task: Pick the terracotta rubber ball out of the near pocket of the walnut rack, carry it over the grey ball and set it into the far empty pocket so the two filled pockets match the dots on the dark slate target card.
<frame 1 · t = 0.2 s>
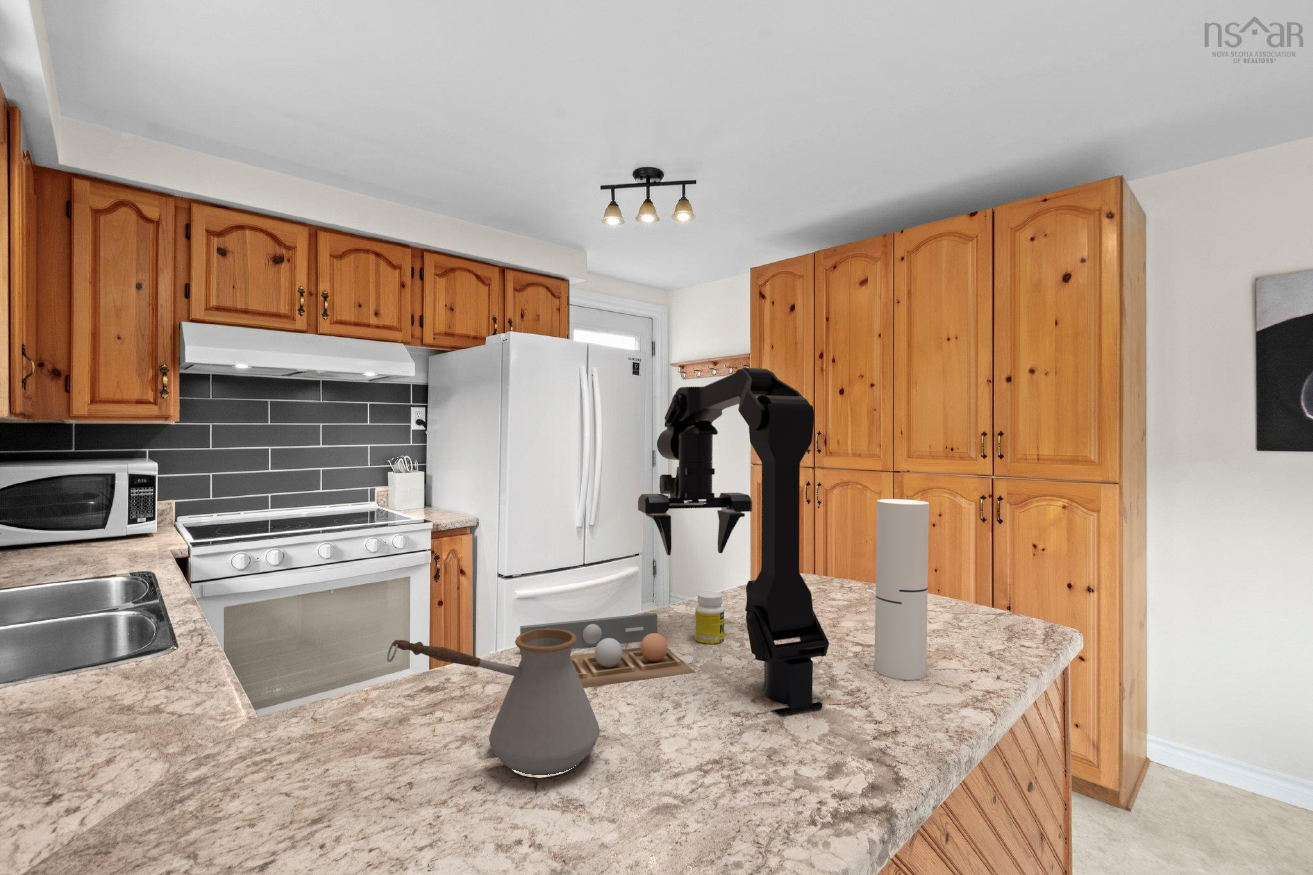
hand: (694, 553, 106), 14 cm above the countertop, tool pointing down, fingers open, 9 cm apart
cylindrical container: (899, 671, 93), on the countertop
supplement bottle: (709, 646, 102), on the countertop
terracotta ball: (654, 660, 93), point 1 cm above the countertop, touching rack
grey ball: (608, 666, 90), point 1 cm above the countertop, touching rack
coffee pot: (498, 773, 64), on the countertop
hamburger: (777, 628, 113), on the countertop
target card: (590, 651, 99), on the countertop
rack: (608, 673, 90), on the countertop
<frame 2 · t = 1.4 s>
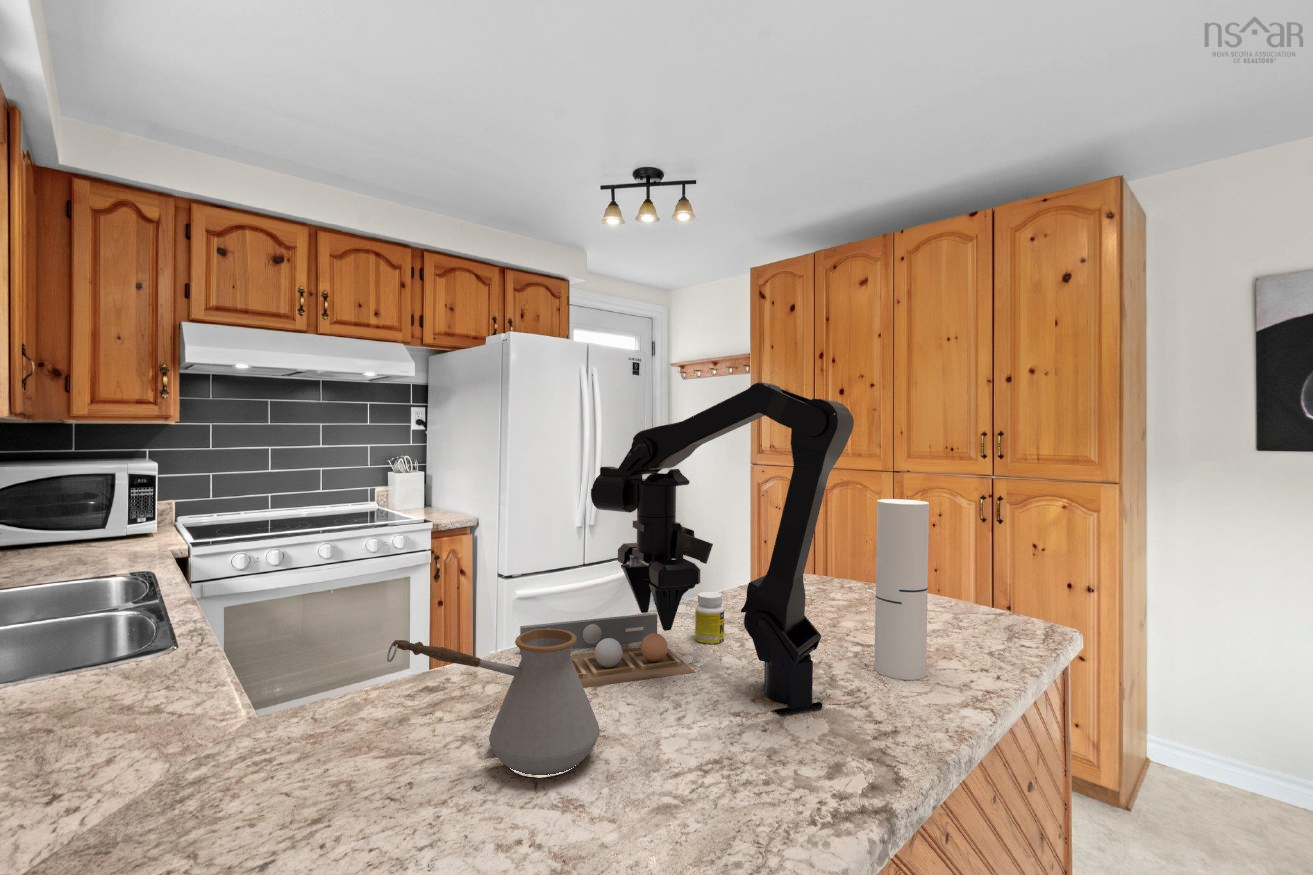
hand: (655, 620, 92), 7 cm above the countertop, tool pointing down, fingers open, 9 cm apart
nothing on the countertop moved.
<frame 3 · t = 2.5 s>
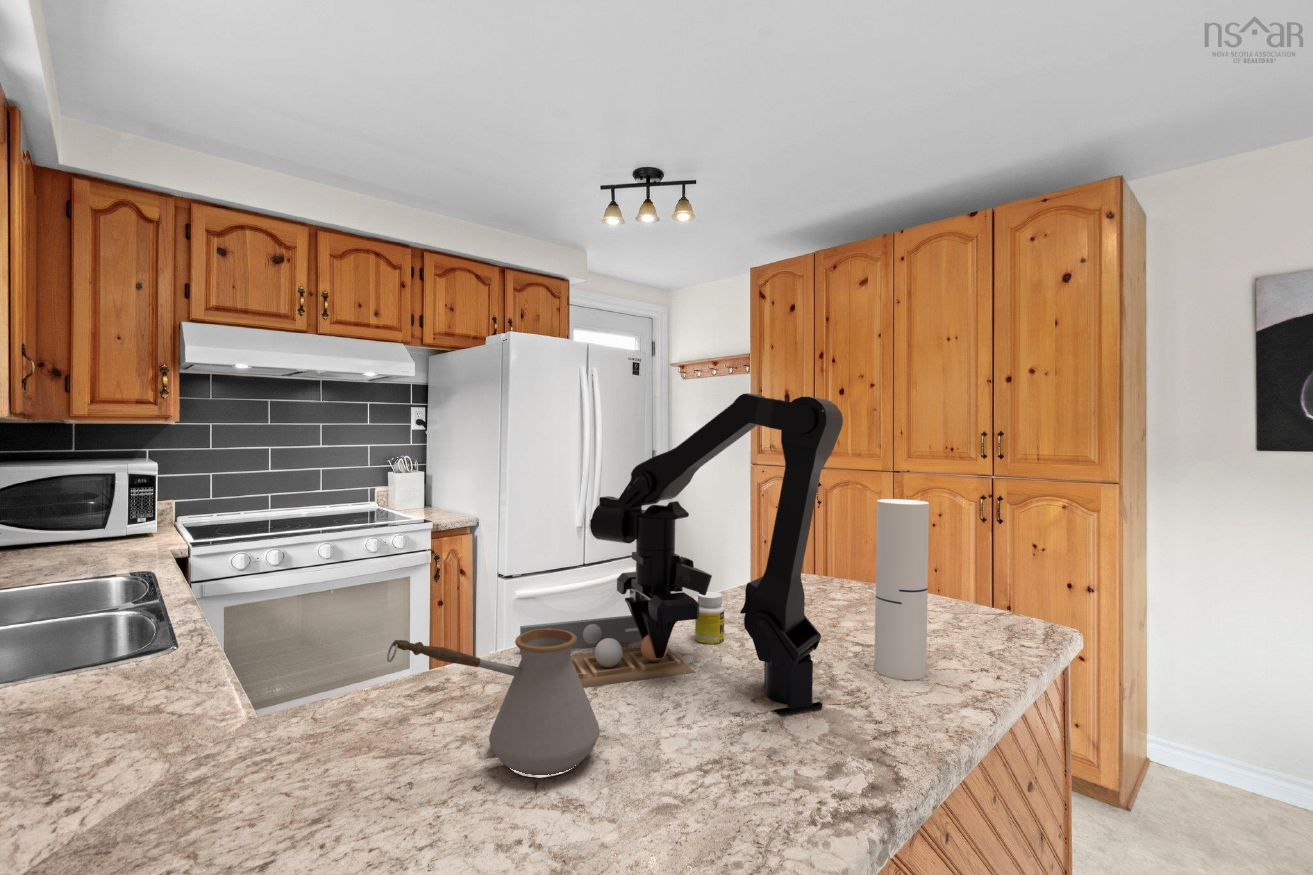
hand: (654, 652, 93), 2 cm above the countertop, tool pointing down, fingers closed on terracotta ball, 4 cm apart
terracotta ball: (654, 660, 93), point 1 cm above the countertop, touching gripper, rack
everything else where it was.
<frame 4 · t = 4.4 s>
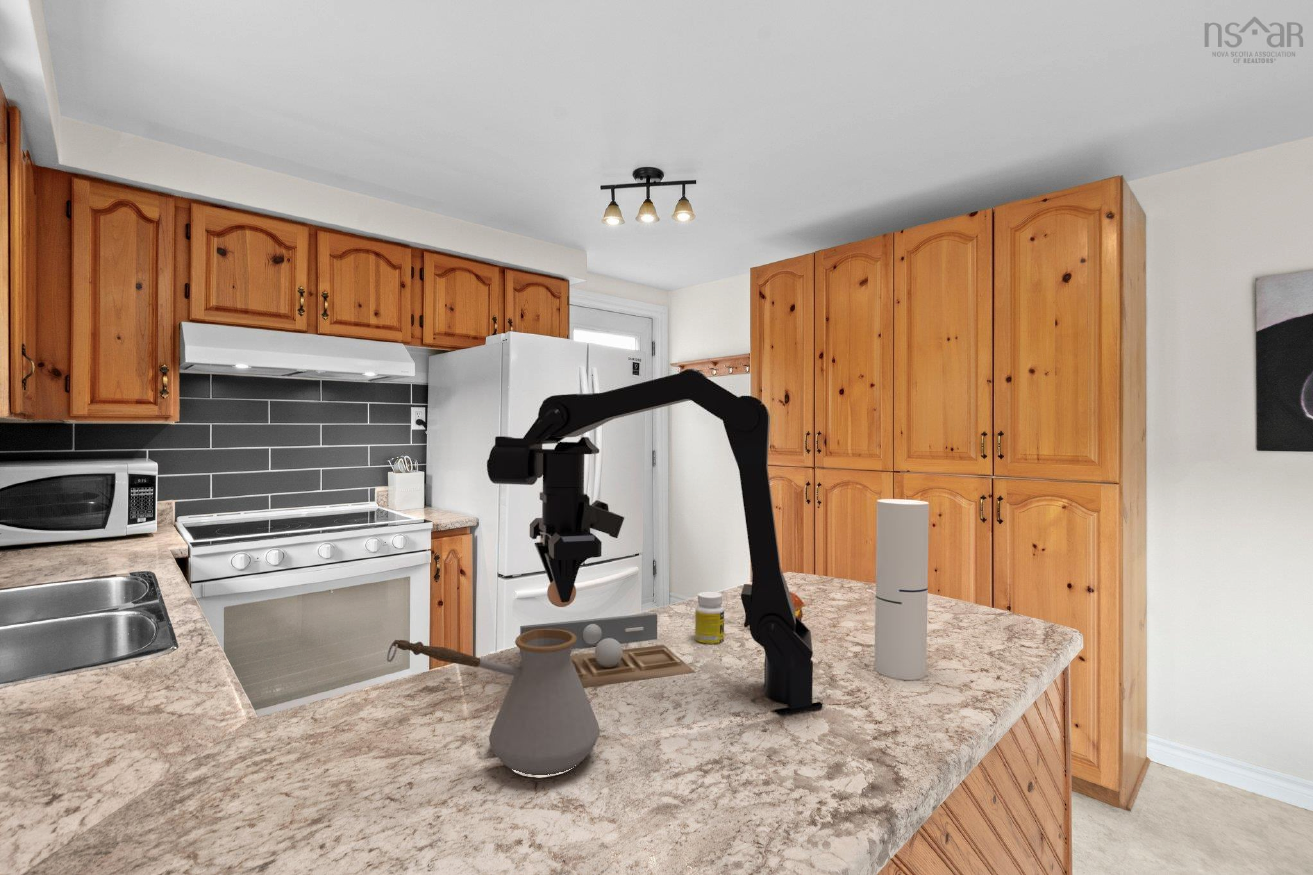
hand: (561, 598, 87), 11 cm above the countertop, tool pointing down, fingers closed on terracotta ball, 4 cm apart
terracotta ball: (561, 606, 87), point 10 cm above the countertop, touching gripper
everything else where it was.
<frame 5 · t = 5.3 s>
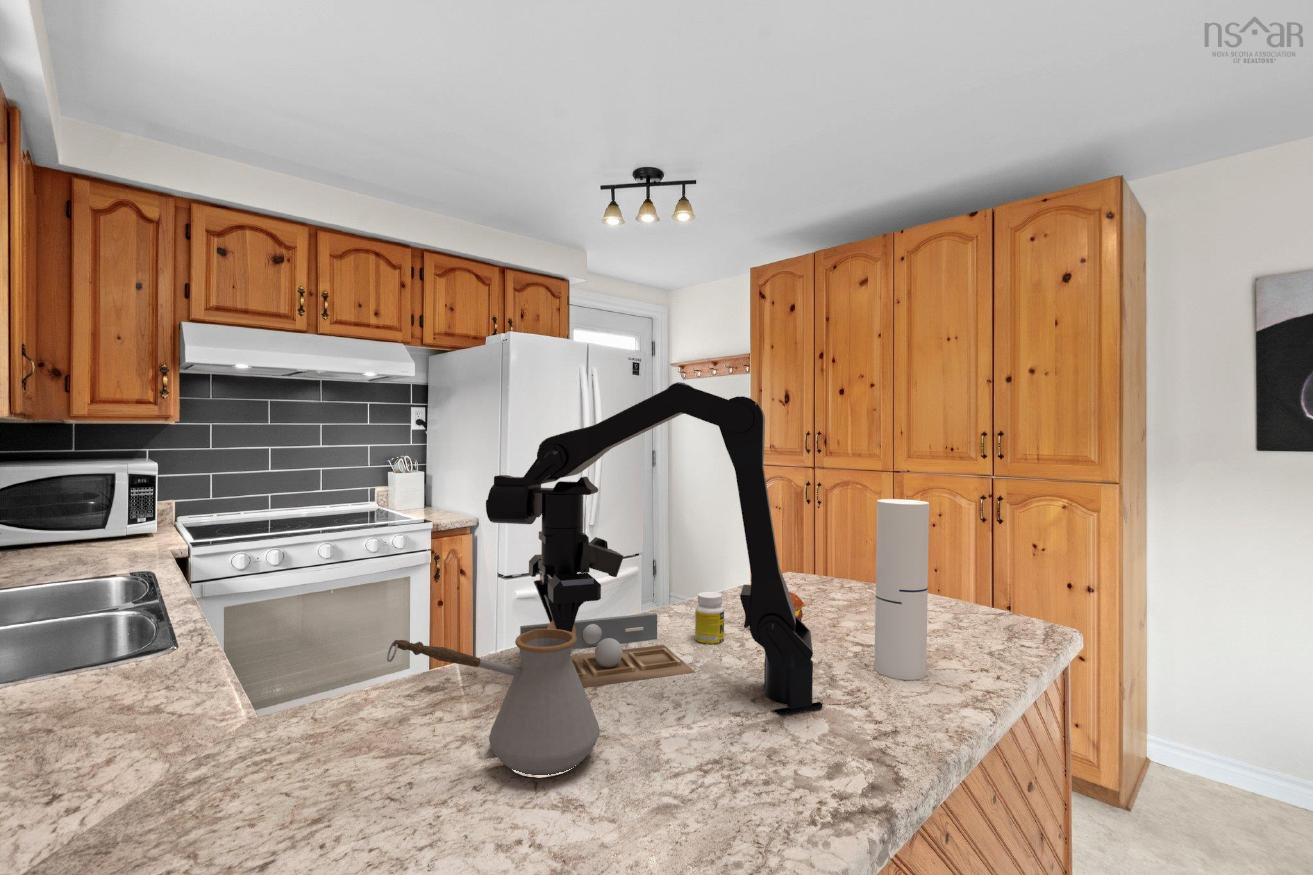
hand: (561, 637, 87), 6 cm above the countertop, tool pointing down, fingers closed on terracotta ball, 4 cm apart
terracotta ball: (561, 646, 87), point 5 cm above the countertop, touching gripper
everything else where it was.
when the fingers open (4 cm above the countertop, at t = 6.1 s): terracotta ball drops 1 cm, resting on rack.
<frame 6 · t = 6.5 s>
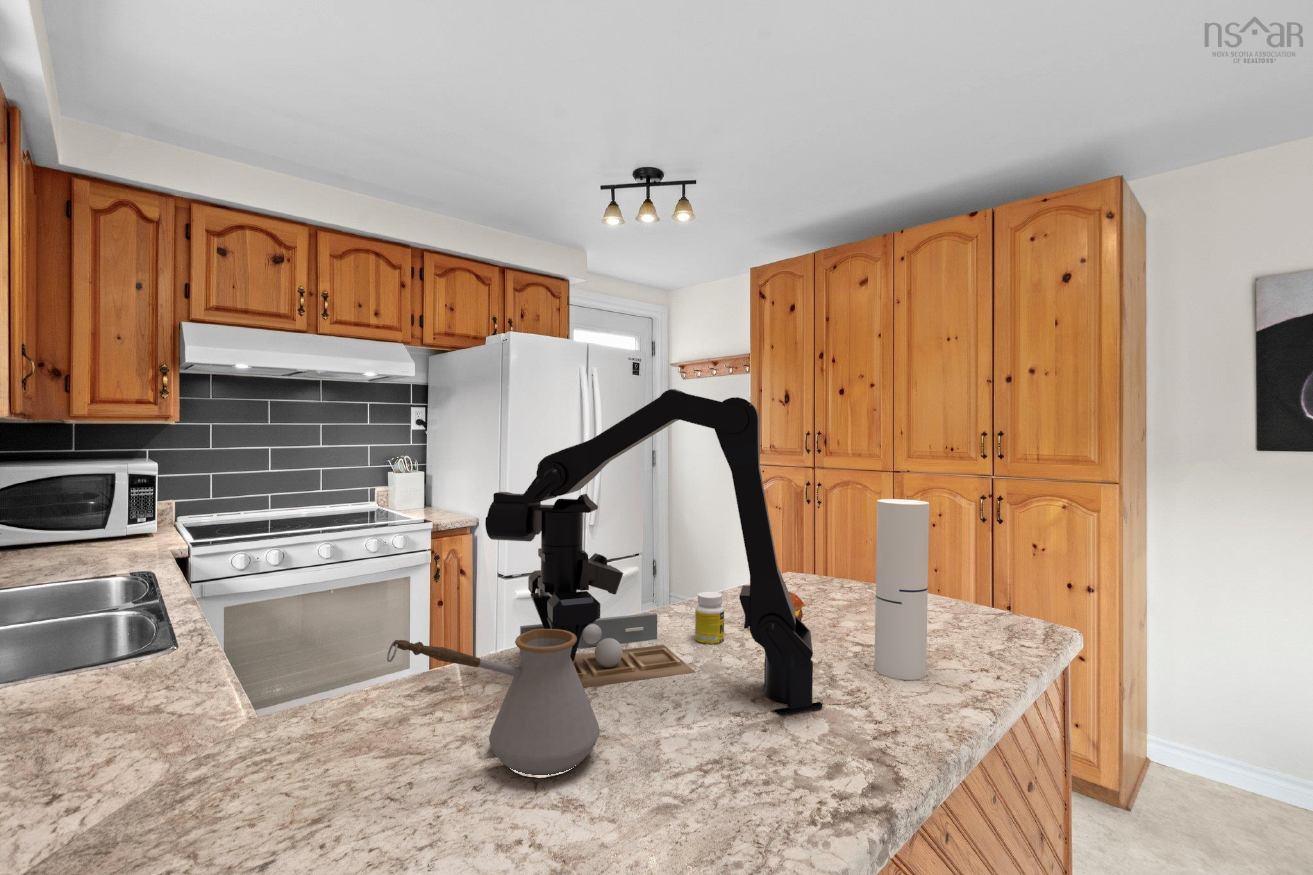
hand: (560, 654, 87), 4 cm above the countertop, tool pointing down, fingers open, 9 cm apart
terracotta ball: (560, 672, 87), point 1 cm above the countertop, touching rack
everything else where it was.
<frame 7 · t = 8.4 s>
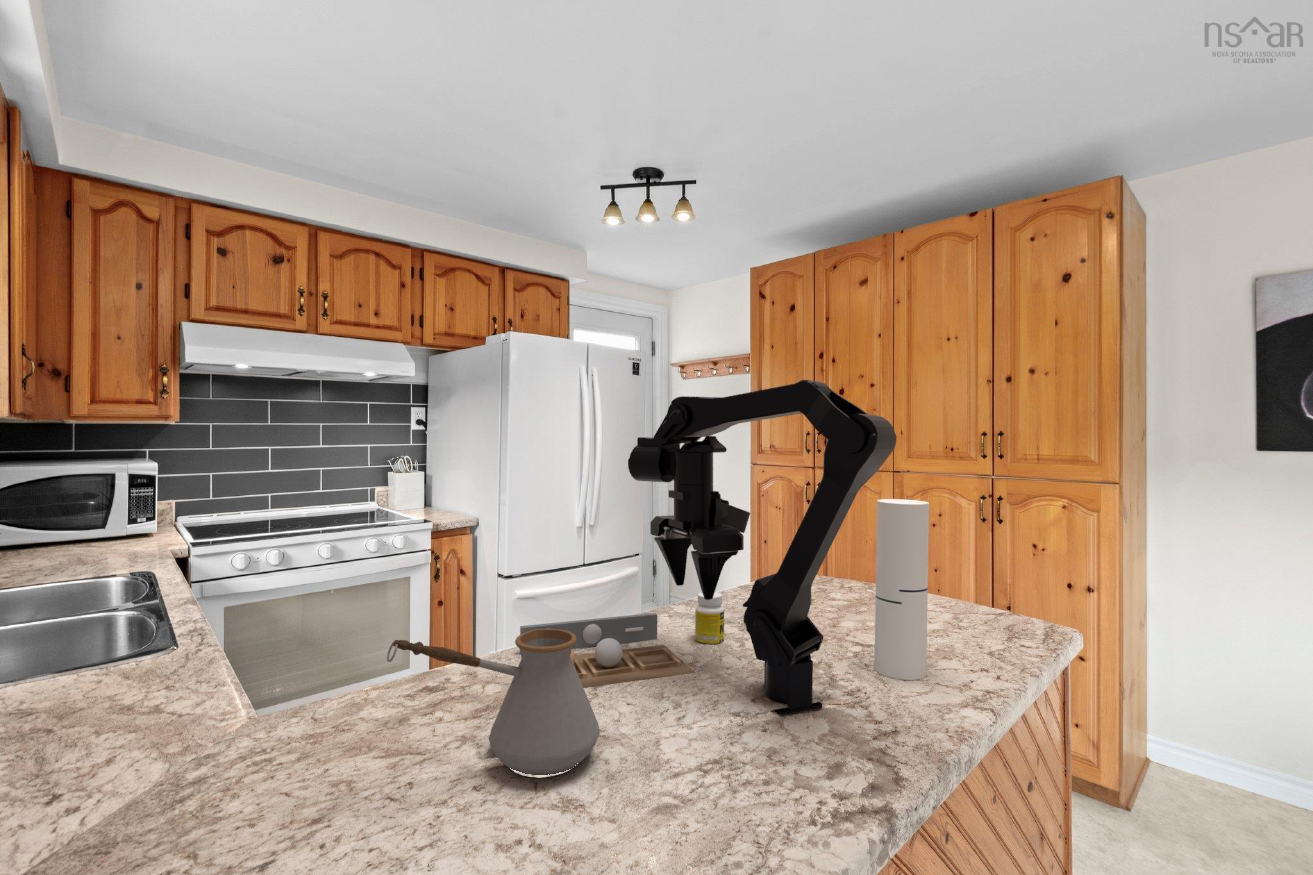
hand: (693, 591, 91), 12 cm above the countertop, tool pointing down, fingers open, 9 cm apart
nothing on the countertop moved.
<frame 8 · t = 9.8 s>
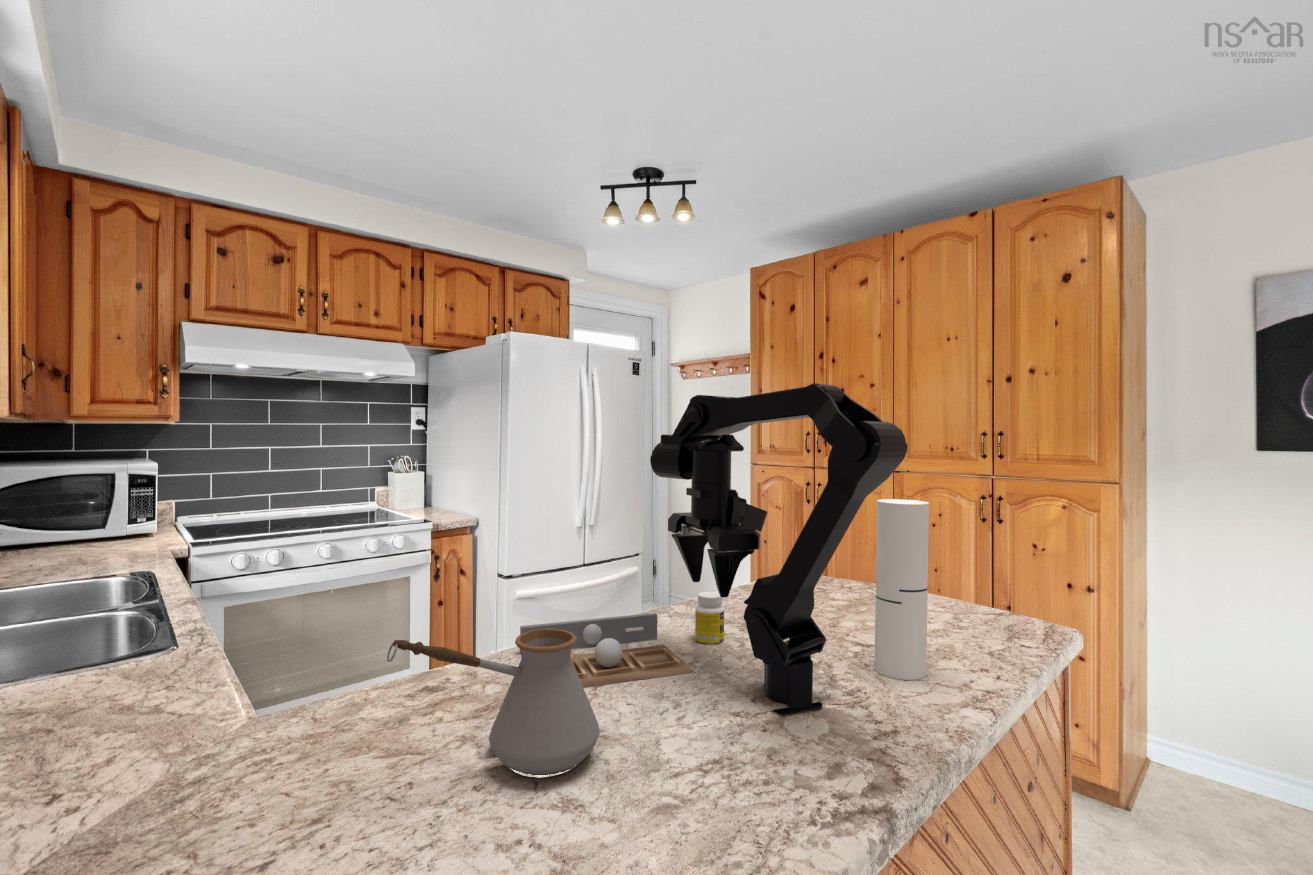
hand: (709, 589, 91), 12 cm above the countertop, tool pointing down, fingers open, 9 cm apart
nothing on the countertop moved.
at the end: terracotta ball 0.0 cm from the target spot on the rack, point 1.0 cm above the rack's base; grey ball moved 0.0 cm from its start; the gripper is holding nothing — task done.
